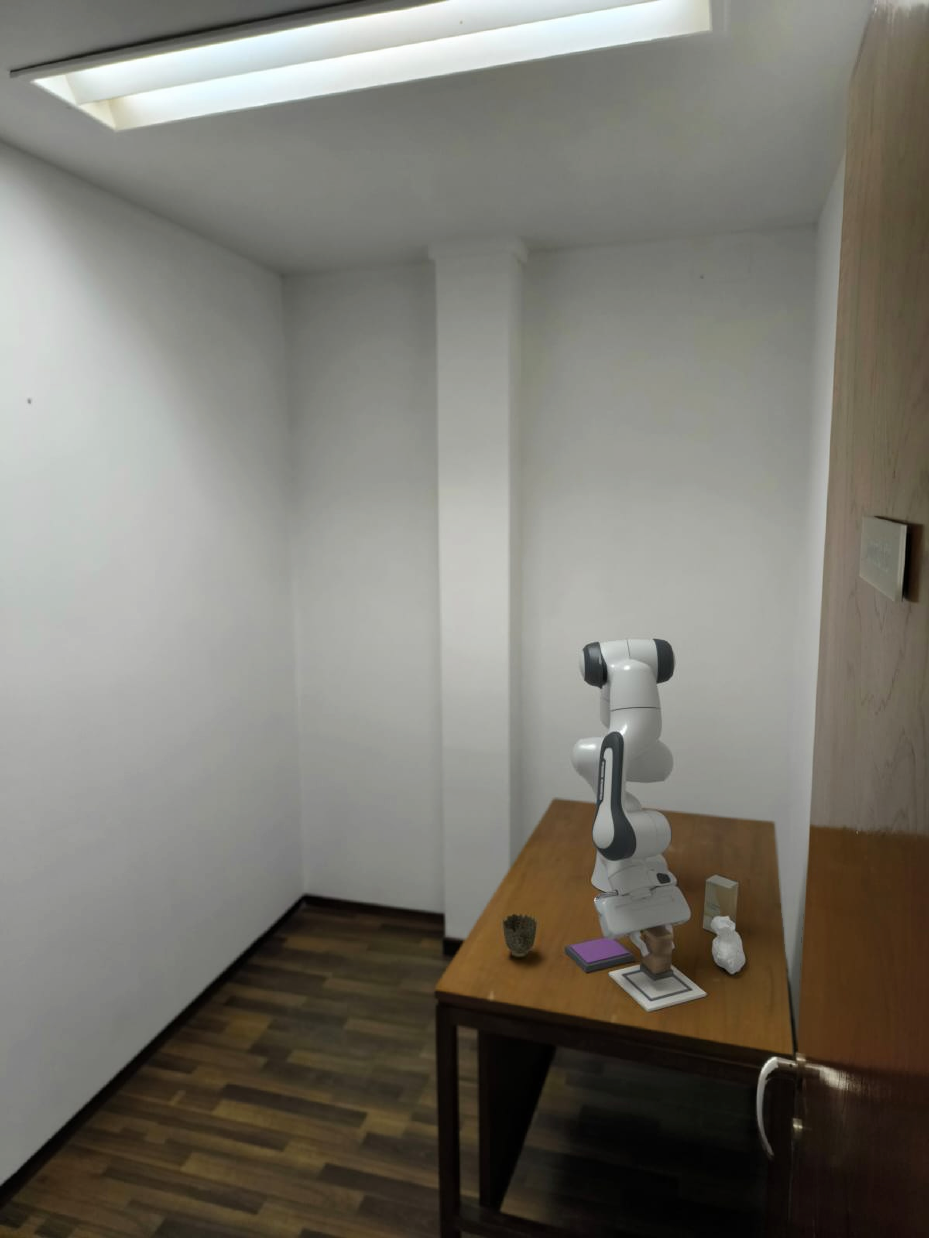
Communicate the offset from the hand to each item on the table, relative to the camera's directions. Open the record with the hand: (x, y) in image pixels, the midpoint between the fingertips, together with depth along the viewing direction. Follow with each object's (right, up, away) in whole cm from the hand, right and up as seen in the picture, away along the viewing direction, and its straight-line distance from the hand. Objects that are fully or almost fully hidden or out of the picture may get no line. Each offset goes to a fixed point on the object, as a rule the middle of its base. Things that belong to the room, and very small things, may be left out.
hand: (659, 952), depth 165 cm
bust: (+17, -7, +10) cm, 21 cm away
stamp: (0, -5, +1) cm, 5 cm away
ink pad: (-10, -6, +13) cm, 17 cm away
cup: (-28, -6, +13) cm, 31 cm away
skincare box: (+20, -5, +24) cm, 31 cm away
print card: (0, -7, +2) cm, 8 cm away
